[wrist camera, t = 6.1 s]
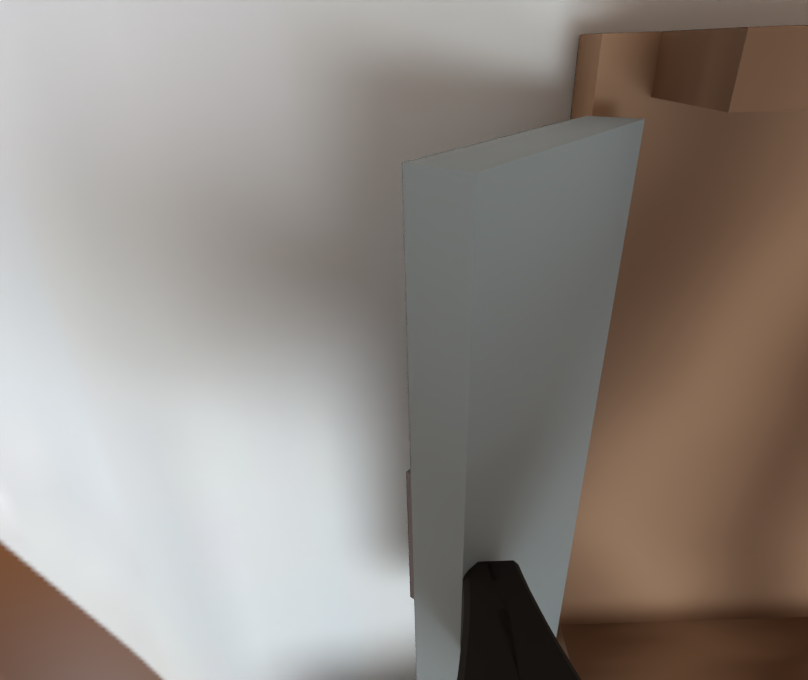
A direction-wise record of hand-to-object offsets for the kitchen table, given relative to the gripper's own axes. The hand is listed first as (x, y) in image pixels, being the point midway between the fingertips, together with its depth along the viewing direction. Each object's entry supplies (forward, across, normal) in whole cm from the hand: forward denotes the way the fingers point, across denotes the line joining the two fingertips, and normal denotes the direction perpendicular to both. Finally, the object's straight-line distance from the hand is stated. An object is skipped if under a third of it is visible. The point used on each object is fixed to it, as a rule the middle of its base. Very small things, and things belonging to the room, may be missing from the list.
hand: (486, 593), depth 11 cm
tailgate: (+5, -3, 0) cm, 6 cm away
